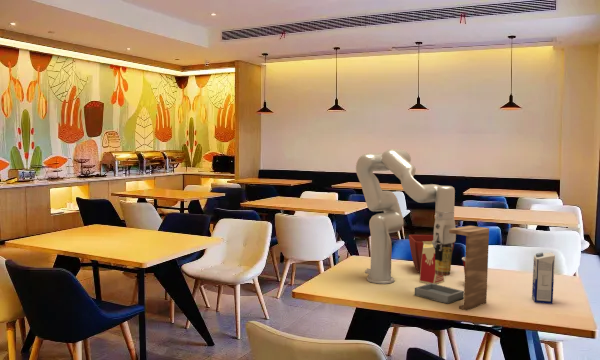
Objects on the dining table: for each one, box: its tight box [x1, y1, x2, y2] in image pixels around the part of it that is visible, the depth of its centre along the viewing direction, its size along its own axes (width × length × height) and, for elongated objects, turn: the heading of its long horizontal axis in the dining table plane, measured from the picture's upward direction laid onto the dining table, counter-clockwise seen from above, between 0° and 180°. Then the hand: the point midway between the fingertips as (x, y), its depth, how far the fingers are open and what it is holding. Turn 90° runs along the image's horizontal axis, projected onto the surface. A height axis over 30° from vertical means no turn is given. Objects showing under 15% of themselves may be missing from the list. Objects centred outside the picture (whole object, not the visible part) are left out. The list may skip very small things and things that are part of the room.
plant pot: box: [408, 234, 455, 274], centre depth 262 cm, size 19×19×17 cm
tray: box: [413, 283, 464, 305], centre depth 217 cm, size 16×12×3 cm
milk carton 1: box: [419, 241, 445, 285], centre depth 242 cm, size 9×9×20 cm
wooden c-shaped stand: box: [449, 225, 490, 311], centre depth 207 cm, size 9×15×30 cm, turn 132°
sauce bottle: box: [435, 242, 453, 277], centre depth 215 cm, size 7×6×20 cm
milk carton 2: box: [531, 252, 556, 305], centre depth 213 cm, size 7×7×20 cm
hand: (443, 258), depth 215 cm, fingers closed on sauce bottle, 6 cm apart
